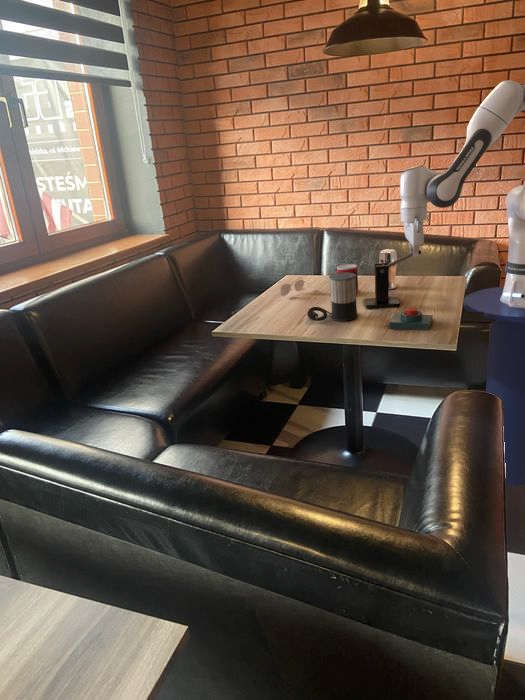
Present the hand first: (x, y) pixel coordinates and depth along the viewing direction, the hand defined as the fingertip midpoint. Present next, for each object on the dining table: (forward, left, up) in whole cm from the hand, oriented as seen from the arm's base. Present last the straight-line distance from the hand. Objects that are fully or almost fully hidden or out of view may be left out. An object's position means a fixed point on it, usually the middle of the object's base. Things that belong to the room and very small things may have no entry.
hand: (414, 254), depth 190 cm
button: (-12, +23, -14) cm, 29 cm away
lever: (+4, +3, -3) cm, 6 cm away
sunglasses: (+46, +11, -18) cm, 51 cm away
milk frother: (+15, +29, -18) cm, 37 cm away
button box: (-12, +23, -18) cm, 31 cm away
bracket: (+9, +7, -18) cm, 21 cm away
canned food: (+29, 0, -18) cm, 34 cm away
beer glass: (+19, -14, -18) cm, 29 cm away
